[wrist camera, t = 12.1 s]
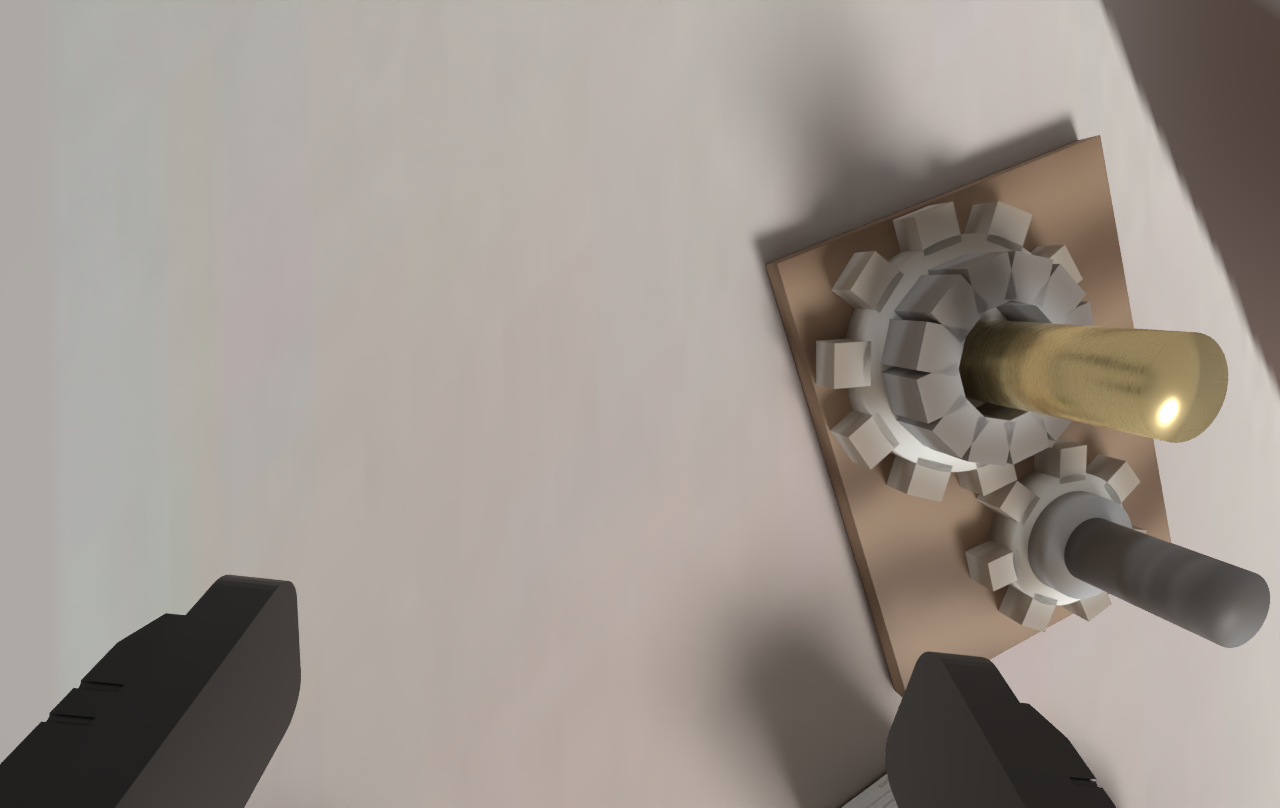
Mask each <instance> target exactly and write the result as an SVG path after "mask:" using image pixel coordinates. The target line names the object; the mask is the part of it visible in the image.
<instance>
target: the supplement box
mask: <svg viewBox="0 0 1280 808" xmlns="http://www.w3.org/2000/svg"><path fill="white" fill-rule="evenodd" d="M841 808H898V806H897V803H896V801H895V798H894V796H893V793H892V790H891V787H890V784H889V780H888V775H887V774H885V775H884V776H883V777H882V778H880V779H879V780H878V781H876V782H875V783H874V784H872V785H871V786H870V787H868V788H867V789H866V790H864V791H863V792H862V793H860V794H859V795H857V796H856V797H855V798H854V799H852V800H851V801H849V802H848V803H846V804H845V805H844V806H843V807H841Z"/></svg>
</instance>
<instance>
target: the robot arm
mask: <svg viewBox="0 0 1280 808" xmlns="http://www.w3.org/2000/svg"><path fill="white" fill-rule="evenodd" d="M300 682H301V668H300V649H299V630H298V611H297V595H296V590H295V587H294V585H293V583H292V582H290V581H283V580H273V579H264V578H255V577H245V576H236V575H225V576H222V577H220V578H219V579H218V580H217V581H216V582H215V583H214V584H213V585H212V586H211V587H210V588H209V589H208V590H207V592H206V593H205V594H204V595H203V596H202V597H201V598H200V600H199V601H198V602H197V603H196V604H195V605H194V606H193V607H192V609H191V610H190V611H189V612H188V613H187V614H186V615H177V614H167V613H166V614H164V615H162V616H161V617H159V618H157V619H156V620H154V621H152V622H151V623H149V624H147V625H146V626H144V627H143V628H141V629H139V630H138V631H136V632H134V633H133V634H131V635H129V636H128V637H126V638H124V639H123V640H121V641H119V642H118V643H117V644H116V645H115V646H114V647H113V648H112V649H111V650H110V651H109V652H108V653H107V654H106V655H105V656H104V657H103V658H102V659H101V660H100V661H99V662H98V663H97V664H96V665H95V666H94V667H93V669H92V670H91V671H90V672H89V673H88V674H87V675H86V676H85V677H84V678H83V679H82V680H81V684H80V686H79V688H78V689H77V688H73V689H72V690H71V691H70V692H69V693H68V694H67V696H66V697H65V698H64V699H63V700H62V701H61V702H60V703H59V704H58V705H57V706H56V707H55V708H54V709H53V710H52V711H51V712H50V716H49V718H48V720H47V721H46V722H41V723H40V724H39V725H38V726H37V727H36V728H35V729H34V730H33V731H32V732H31V733H30V734H29V735H28V736H27V737H26V738H25V739H24V740H23V741H22V742H21V743H20V744H19V745H18V746H17V747H16V749H15V750H14V751H13V752H12V753H11V754H10V755H9V756H8V757H7V758H6V759H5V760H4V761H3V762H2V763H1V764H0V808H244V807H245V805H246V803H247V801H248V800H249V798H250V796H251V794H252V792H253V790H254V789H255V787H256V785H257V783H258V781H259V780H260V778H261V776H262V774H263V772H264V771H265V769H266V767H267V765H268V763H269V762H270V760H271V758H272V756H273V754H274V752H275V751H276V749H277V747H278V745H279V743H280V742H281V740H282V738H283V736H284V734H285V733H286V731H287V729H288V727H289V724H290V722H291V719H292V717H293V714H294V711H295V708H296V704H297V700H298V696H299V690H300ZM886 768H887V775H888V780H889V784H890V787H891V790H892V793H893V796H894V798H895V801H896V803H897V806H898V808H1116V806H1115V805H1114V804H1113V802H1112V801H1111V799H1110V798H1109V797H1108V795H1107V794H1106V792H1105V791H1104V789H1103V788H1099V787H1097V784H1096V780H1097V779H1096V778H1095V777H1094V775H1093V774H1092V772H1091V771H1090V769H1089V768H1088V767H1087V765H1086V764H1085V762H1084V761H1083V759H1082V758H1081V757H1080V755H1079V754H1078V752H1077V751H1076V749H1075V748H1074V747H1073V745H1072V744H1071V742H1070V741H1069V740H1068V738H1066V737H1065V736H1064V735H1063V734H1062V733H1061V732H1060V731H1059V730H1058V729H1056V728H1055V727H1054V726H1053V725H1052V724H1051V723H1050V722H1049V721H1048V720H1046V719H1045V718H1044V717H1043V716H1042V715H1041V714H1040V713H1039V712H1038V711H1036V710H1035V709H1034V708H1033V707H1032V706H1031V705H1030V704H1027V703H1020V702H1019V701H1018V699H1017V698H1016V696H1015V695H1014V693H1013V692H1012V690H1011V689H1010V687H1009V686H1008V684H1007V683H1006V681H1005V680H1004V678H1003V677H1002V675H1001V674H1000V672H999V671H998V669H997V668H996V666H995V665H994V664H993V663H992V662H991V661H990V660H988V659H987V658H984V657H978V656H969V655H959V654H950V653H941V652H931V651H928V652H924V653H923V654H922V655H921V656H920V657H919V658H918V660H917V662H916V664H915V666H914V669H913V672H912V674H911V677H910V680H909V682H908V685H907V687H906V690H905V693H904V695H903V698H902V701H901V703H900V706H899V709H898V711H897V714H896V716H895V719H894V722H893V724H892V727H891V730H890V732H889V735H888V739H887V745H886Z"/></svg>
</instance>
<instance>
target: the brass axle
mask: <svg viewBox="0 0 1280 808" xmlns="http://www.w3.org/2000/svg"><path fill="white" fill-rule="evenodd" d="M959 373H960V377H961V381H962V385H963V389H964V394H965V398H969V399H973V400H978V401H983V402H987V403H992V404H996V405H1001V406H1006V407H1010V408H1015V409H1020V410H1024V411H1029V412H1033V413H1038V414H1043V415H1047V416H1052V417H1056V418H1061V419H1066V420H1070V421H1075V422H1080V423H1084V424H1089V425H1093V426H1098V427H1103V428H1107V429H1112V430H1117V431H1121V432H1126V433H1130V434H1135V435H1140V436H1144V437H1149V438H1154V439H1158V440H1163V441H1167V442H1174V443H1179V442H1185V441H1188V440H1190V439H1193V438H1195V437H1196V436H1198V435H1200V434H1201V433H1202V432H1203V431H1205V430H1206V429H1207V428H1208V427H1209V425H1210V424H1211V423H1212V422H1213V421H1214V419H1215V418H1216V416H1217V414H1218V413H1219V411H1220V409H1221V407H1222V404H1223V402H1224V399H1225V396H1226V391H1227V385H1228V367H1227V362H1226V359H1225V356H1224V353H1223V351H1222V349H1221V348H1220V346H1219V345H1218V344H1217V343H1216V342H1215V340H1213V339H1212V338H1211V337H1209V336H1207V335H1205V334H1202V333H1196V332H1180V331H1164V330H1148V329H1132V328H1116V327H1099V326H1083V325H1067V324H1051V323H1035V322H1018V321H1002V320H986V319H979V320H978V322H977V323H976V324H975V326H974V327H973V328H972V329H971V331H970V332H969V333H968V335H967V336H966V337H965V342H964V346H963V351H962V356H961V360H960V365H959Z"/></svg>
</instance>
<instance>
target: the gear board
mask: <svg viewBox="0 0 1280 808" xmlns="http://www.w3.org/2000/svg"><path fill="white" fill-rule="evenodd" d="M766 268H767V271H768V275H769V278H770V281H771V285H772V288H773V291H774V294H775V298H776V301H777V304H778V307H779V311H780V314H781V317H782V321H783V324H784V327H785V330H786V334H787V337H788V340H789V344H790V347H791V350H792V353H793V357H794V360H795V363H796V367H797V370H798V373H799V376H800V380H801V383H802V386H803V389H804V393H805V396H806V399H807V403H808V406H809V409H810V412H811V416H812V419H813V422H814V426H815V429H816V432H817V435H818V439H819V442H820V445H821V449H822V452H823V455H824V458H825V462H826V465H827V468H828V471H829V475H830V478H831V481H832V485H833V488H834V491H835V494H836V498H837V501H838V504H839V508H840V511H841V514H842V517H843V521H844V524H845V527H846V531H847V534H848V537H849V540H850V544H851V547H852V550H853V553H854V557H855V560H856V563H857V567H858V570H859V573H860V576H861V580H862V583H863V586H864V590H865V593H866V596H867V599H868V603H869V606H870V609H871V613H872V616H873V619H874V622H875V626H876V629H877V632H878V635H879V639H880V642H881V645H882V649H883V652H884V655H885V658H886V662H887V665H888V668H889V672H890V675H891V678H892V681H893V685H894V688H895V691H896V692H897V693H898V694H899V695H900V696H902V697H903V695H904V693H905V690H906V687H907V685H908V682H909V680H910V677H911V674H912V672H913V669H914V666H915V664H916V662H917V660H918V658H919V657H920V656H921V655H922V654H923V653H924V652H928V651H931V652H941V653H950V654H959V655H969V656H978V657H984V658H987V659H988V660H989V659H991V658H993V657H995V656H997V655H999V654H1000V653H1002V652H1004V651H1006V650H1008V649H1009V648H1011V647H1013V646H1015V645H1017V644H1019V643H1020V642H1022V641H1024V640H1026V639H1028V638H1030V637H1031V636H1033V635H1035V634H1037V633H1039V632H1040V631H1043V632H1045V630H1046V628H1048V627H1050V626H1051V625H1053V624H1055V623H1057V622H1059V621H1060V620H1062V619H1064V618H1066V617H1068V616H1070V615H1071V614H1073V613H1074V614H1076V615H1078V616H1080V617H1081V618H1083V619H1085V620H1087V621H1090V620H1091V619H1093V618H1094V617H1095V616H1096V615H1098V614H1099V613H1100V612H1102V611H1103V610H1104V609H1106V608H1107V607H1108V606H1109V605H1111V602H1110V599H1109V597H1108V594H1111V595H1114V596H1116V597H1118V598H1120V599H1122V600H1124V601H1126V602H1129V603H1131V604H1133V605H1135V606H1137V607H1139V608H1141V609H1144V610H1146V611H1148V612H1150V613H1152V614H1154V615H1156V616H1158V617H1161V618H1163V619H1165V620H1167V621H1169V622H1171V623H1173V624H1176V625H1178V626H1180V627H1182V628H1184V629H1186V630H1188V631H1191V632H1193V633H1195V634H1197V635H1199V636H1201V637H1203V638H1205V639H1208V640H1210V641H1212V642H1214V643H1216V644H1218V645H1220V646H1223V647H1227V648H1233V647H1238V646H1240V645H1242V644H1244V643H1246V642H1247V641H1249V640H1250V639H1251V638H1252V637H1253V636H1254V635H1255V634H1256V633H1257V632H1258V631H1259V629H1260V628H1261V626H1262V625H1263V623H1264V621H1265V619H1266V616H1267V613H1268V610H1269V604H1270V592H1269V588H1268V585H1267V583H1266V581H1265V580H1264V579H1263V578H1262V577H1261V576H1260V575H1258V574H1256V573H1254V572H1251V571H1248V570H1245V569H1242V568H1240V567H1237V566H1234V565H1231V564H1228V563H1226V562H1223V561H1220V560H1217V559H1214V558H1212V557H1209V556H1206V555H1203V554H1200V553H1198V552H1195V551H1192V550H1189V549H1186V548H1184V547H1181V546H1178V545H1175V544H1172V543H1171V539H1170V533H1169V527H1168V522H1167V516H1166V510H1165V505H1164V499H1163V493H1162V487H1161V482H1160V476H1159V470H1158V464H1157V459H1156V453H1155V447H1154V441H1153V438H1149V437H1144V436H1140V435H1135V434H1130V433H1126V432H1121V431H1117V430H1112V429H1107V428H1103V427H1098V426H1093V425H1089V424H1084V423H1080V422H1075V421H1070V420H1066V419H1061V418H1056V417H1052V416H1047V415H1043V414H1038V413H1033V412H1029V411H1024V410H1020V409H1015V408H1010V407H1006V406H1001V405H996V404H992V403H987V402H983V401H978V400H973V399H969V398H965V394H964V389H963V385H962V381H961V377H960V373H959V365H960V360H961V356H962V351H963V346H964V342H965V337H966V336H967V335H968V333H969V332H970V331H971V329H972V328H973V327H974V326H975V324H976V323H977V322H978V320H979V319H986V320H1002V321H1018V322H1035V323H1051V324H1067V325H1083V326H1099V327H1116V328H1132V329H1134V327H1133V321H1132V315H1131V310H1130V304H1129V298H1128V292H1127V287H1126V281H1125V275H1124V269H1123V264H1122V258H1121V252H1120V246H1119V241H1118V235H1117V229H1116V223H1115V218H1114V212H1113V206H1112V201H1111V195H1110V189H1109V183H1108V178H1107V172H1106V166H1105V160H1104V155H1103V149H1102V143H1101V137H1100V135H1099V136H1094V137H1090V138H1086V139H1082V140H1078V141H1075V142H1073V143H1070V144H1068V145H1065V146H1063V147H1060V148H1058V149H1055V150H1053V151H1050V152H1048V153H1045V154H1043V155H1040V156H1038V157H1035V158H1033V159H1030V160H1028V161H1025V162H1023V163H1020V164H1018V165H1015V166H1013V167H1010V168H1007V169H1005V170H1002V171H1000V172H997V173H995V174H992V175H990V176H987V177H985V178H982V179H980V180H977V181H975V182H972V183H970V184H967V185H965V186H962V187H960V188H957V189H955V190H952V191H950V192H947V193H945V194H942V195H940V196H937V197H934V198H932V199H929V200H927V201H924V202H922V203H919V204H917V205H914V206H912V207H909V208H907V209H904V210H902V211H899V212H897V213H894V214H892V215H889V216H887V217H884V218H882V219H879V220H877V221H874V222H872V223H869V224H867V225H864V226H861V227H859V228H856V229H854V230H851V231H849V232H846V233H844V234H841V235H839V236H836V237H834V238H831V239H829V240H826V241H824V242H821V243H819V244H816V245H814V246H811V247H809V248H806V249H804V250H801V251H799V252H796V253H794V254H791V255H789V256H786V257H783V258H781V259H778V260H776V261H773V262H771V263H768V264H766Z"/></svg>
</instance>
